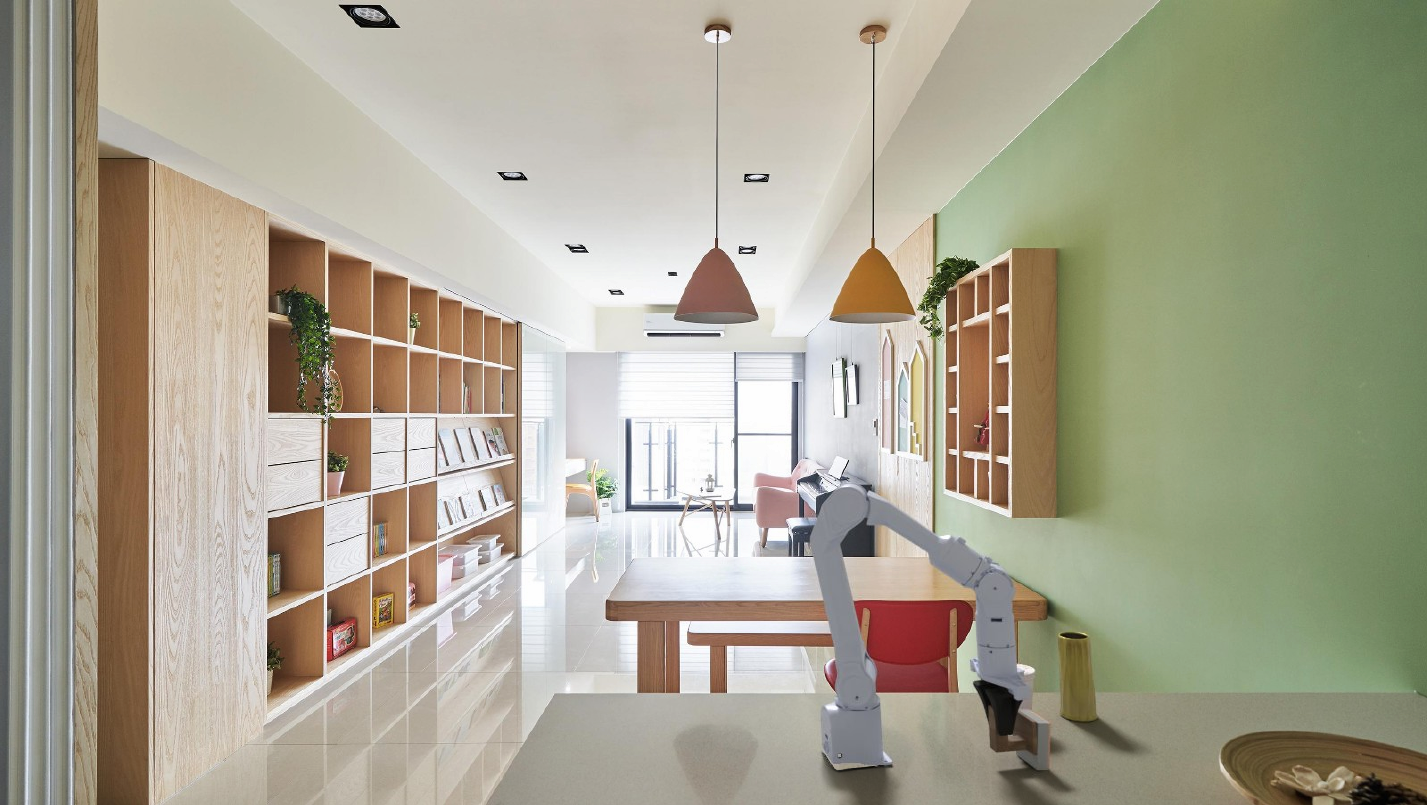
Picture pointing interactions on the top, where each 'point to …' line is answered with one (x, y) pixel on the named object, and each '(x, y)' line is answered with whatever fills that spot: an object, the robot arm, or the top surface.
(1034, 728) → the u-shaped wooden bracket
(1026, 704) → the smoothie
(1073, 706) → the vase
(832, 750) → the robot arm
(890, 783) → the top surface
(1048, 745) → the tile
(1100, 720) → the top surface
